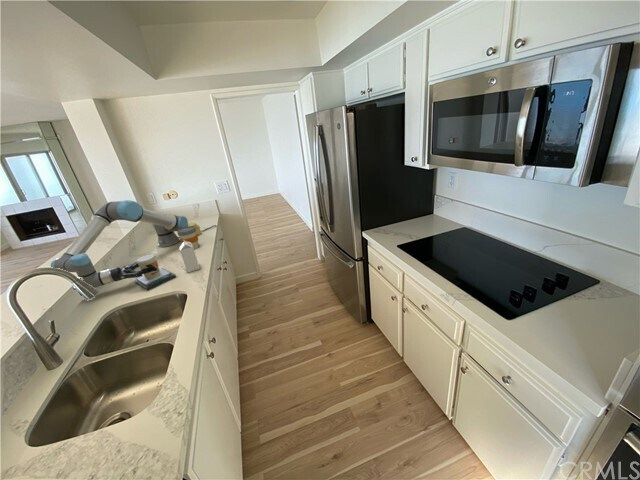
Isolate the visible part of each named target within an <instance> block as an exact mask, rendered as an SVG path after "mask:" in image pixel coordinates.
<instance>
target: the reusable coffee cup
mask: <svg viewBox="0 0 640 480" xmlns="http://www.w3.org/2000/svg"><path fill="white" fill-rule="evenodd" d="M176 232H177V236H178V237H180V238H179V240H180V242H181V244H182V243H183V242H184V241H186V242H190V243H191V244H192V245H193V248H194V250H196V249H198V248H199V235H197V233H196V228H195V227H194V226H188V227H184V228H181V229H179V230H178V231H176Z"/></svg>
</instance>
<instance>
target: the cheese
mask: <svg viewBox="0 0 640 480" xmlns="http://www.w3.org/2000/svg"><path fill="white" fill-rule="evenodd" d="M188 226H194V227H195V228H196V233H197V236H200V235H202V234H203V233H202V232H203V231H202V230H201V227H200V225H198V224H197V223H195V222H188ZM201 231H202V232H201Z"/></svg>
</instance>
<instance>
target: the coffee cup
mask: <svg viewBox="0 0 640 480" xmlns="http://www.w3.org/2000/svg"><path fill="white" fill-rule="evenodd" d="M136 262H137V263H138V265H139V267H138V268H140V270H141V269H145V268H148V267H152V266H154V268H155V271H152V272H149V273H145V274H143V275H144V276H145V278H146V279H152V278H155V277H157V276H159V275H160V270H159V268H160V266H159V265H158V261H157V258H156V255H155V254H154V253H153V254H152V253H151V254H145V255H142V256H140V257H138V258H137V260H136Z"/></svg>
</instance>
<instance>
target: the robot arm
mask: <svg viewBox="0 0 640 480" xmlns="http://www.w3.org/2000/svg"><path fill="white" fill-rule="evenodd" d="M90 219H91V220H89V222H88V224H87V225H86V226H85V227H84V229H83V230H82V231H81V232H80V233H79V234H78V235H77V237H76V238H75V239H74V240H73V242H72V243H71V244H70V246H69V247H68V248H66V251H64V252H63V254H62V255H61V256H60V257H57V258H55V259H53V260H52V261H51V263H50V268H51V267H53V268H60V269H63V270H66V271H68V272H67V273H76V274H77V278H79V277H83V279H84V280H83V281H85V282H86V283H88V284H90V285H92V286H93V287H94V288H93V289H95V288H99V287H102V286H106V285H110V284H112V283H114V282H119V281H123V280H126V279H133V278H135V279H136V278H138V277H141V276H142V275H144V274H145V273H149V272H152V271H155V268H154V266H152V267H148V268H145V269H141V268H140V267H139V265H138V263H137V261H134V262H132V263H129V264H126V265H124V266H123V268H121V267H118V266H117V267H113V268H111V269H110V268H109V269H106V270H101V271H97V270H96V269H95V267H94V264H93V262H92V260H91V258H90V256H89V255H88V254H87V252H88V250H89V249H90V247H91V246H92V245H93V244H94V242H95V241H96V240H97V238H98V237H99V236H100V234H101V233H102V232H103V231H104V230H105V228H106V227H109V226H110V225H111V224H112V223H113V222H116V221H128V222H130V223H131V222H132V223H137V222H142V223H147V224H152V225H153V228H154V231H155V233H156V236H157V245H158V247H159V248H166V247H171V246H174V245H176V244H178V243H179V242H181V240H180V237H179V236H178V234H176V233H175V232H177V231H178V230H179V229H181V228H184V227H188V223H189V220H188V218H187V217H186V216H185V215H176V214H172V213H169V214H167V213H165V214H164V213H162V212H158V211H154V210H150V209H147V208H143V206H142V205H140V203H139V202H138V201H134V200H128V199H127V200H118V201H116V200H115V201H109V202H105V203H104V204H103V205H101V206H99V208H98V209H97V210H96V211H95V212H94V213H93V214H92V216H91V217H90ZM213 227H217V225H215V224H214V225H212V226H209V227H208V228H205V229H202V230H201V232H205V231H207V230H209V229H212V228H213ZM138 268H140V270H136V269H138ZM80 279H81V278H80Z"/></svg>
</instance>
